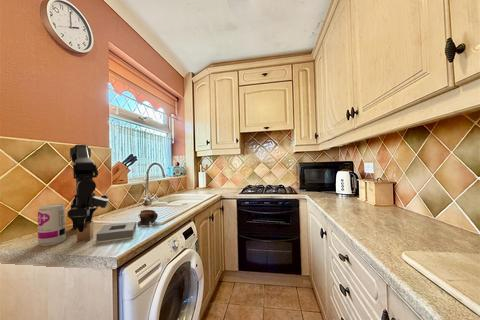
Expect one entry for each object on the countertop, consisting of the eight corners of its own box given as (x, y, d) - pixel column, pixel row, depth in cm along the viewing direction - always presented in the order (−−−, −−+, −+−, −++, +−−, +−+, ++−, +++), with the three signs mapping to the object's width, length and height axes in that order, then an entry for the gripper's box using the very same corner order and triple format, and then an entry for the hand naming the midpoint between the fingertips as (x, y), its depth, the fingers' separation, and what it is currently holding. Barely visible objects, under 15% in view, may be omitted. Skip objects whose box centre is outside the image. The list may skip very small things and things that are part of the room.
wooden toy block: (77, 242, 85) (76, 225, 85) (80, 238, 89) (80, 222, 89) (90, 240, 87) (89, 223, 87) (93, 236, 91) (93, 220, 91)
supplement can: (46, 248, 80) (45, 208, 80) (33, 245, 82) (33, 207, 82) (70, 240, 87) (69, 204, 87) (57, 238, 90) (57, 203, 90)
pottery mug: (132, 227, 106) (135, 211, 110) (146, 230, 113) (148, 215, 117) (150, 222, 102) (152, 206, 106) (164, 226, 109) (165, 211, 113)
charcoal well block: (96, 242, 84) (96, 234, 84) (104, 232, 96) (104, 225, 96) (132, 238, 88) (132, 229, 88) (135, 228, 101) (135, 221, 101)
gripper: (101, 193, 82) (101, 232, 82) (111, 187, 100) (112, 220, 100) (66, 195, 78) (67, 236, 78) (83, 189, 96) (84, 223, 96)
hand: (85, 228), depth 88 cm, fingers open, 9 cm apart
